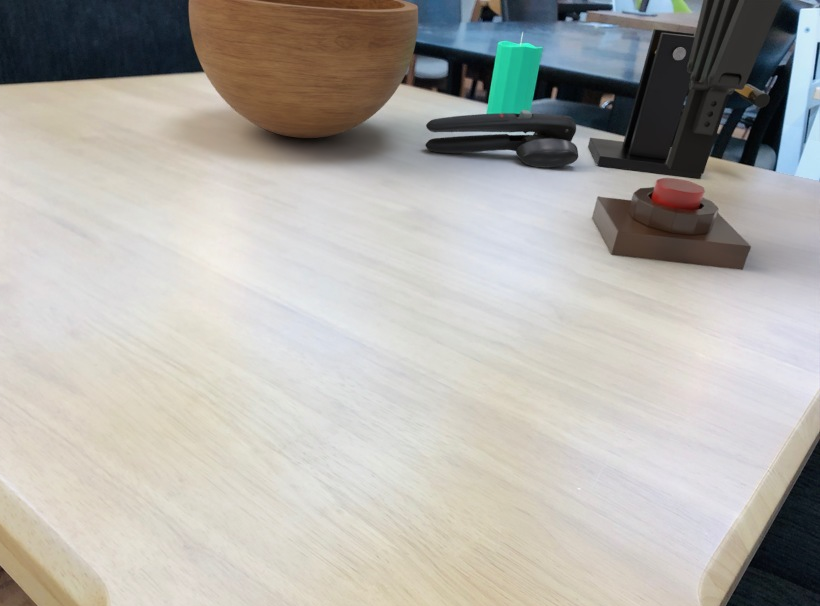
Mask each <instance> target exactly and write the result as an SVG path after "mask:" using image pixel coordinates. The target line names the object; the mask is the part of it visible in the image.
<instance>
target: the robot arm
mask: <svg viewBox="0 0 820 606" xmlns="http://www.w3.org/2000/svg"><path fill="white" fill-rule="evenodd" d="M782 2H783V0H702V2H701V3H702V4H701V8H700V13H699V17H698V21H697V25H696V30H695V34H694V36H695V38H694V42H693V46H692V50H691V55H690V59H689V62H688V65H687V72H688V73H692V74H691V77H690V83H689V88H688V92H687V95H686V99H685V102H684V105H683V109H682V112H681V115H680V118H679V122H678V125H677V128H676V131H675V135H674V138H673V141H672V144H671V147H672V149H671V152H670V155H669V158H668V162H667V166H668V167H669V169H670V170H676V171H684V172H691V173H699V174H702V175H703V174H704V173H705V169H706V167H707V164H708V162H709V157H710V155H711V153H712V150H713V149H712V148H713V146H714V142H715V141H716V137H717V134H718V132H719V128H720V125H721V122H722V119H723V116H724V113H725V110H726V108H727V104H728V101H729V98H730V96H731V95H733V94H734V93H735V89H737V90H742V89H743V88H744V87H745V85H746V84H748V79H749V78H750V75H751V73H752V71H753V68H754V66H755V64H756V61H757V60H758V58H759V55H760V52H761V50H762V48H763V46H764V43H765V41H766V39H767V37H768V34H769V32H770V30H771V27H772V25H773V23H774V20H775V18H776V16H777V14H778V11H779V9H780V7H781V4H782Z"/></svg>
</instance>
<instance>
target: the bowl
mask: <svg viewBox="0 0 820 606" xmlns="http://www.w3.org/2000/svg"><path fill="white" fill-rule="evenodd" d="M188 21H189V29H190V34H191V40H192V44H193V47H194V51H195V53H196V56H197V60H198V61H199V64H200V65H201V68H202V70H203V72H204V74H205V76H206V77H207V79H208V81H209V83H210V84H211V86H212V87H213V88H214V90H215V92H217V93H218V95H219V96H220V97H221V98H222V99H223V101H224V102H225V103H226V104H227V105H228V106H229V107H230V108H232V109H233V110H234V111H235V112H236V113H237V114H239V115H240V116H241V117H243V118H244V119H245V120H247V121H248V122H250V123H252V124H254V125H255V126H257V127H259V128H261V129H264V130H265V131H268V132H271V133H274V134H277V135H281V136H285V137H289V138H298V139H320V138H325V137H331V136H335V135H338V134H342V133H344V132H347V131H350V130H352V129H353V128H356V127H357V126H359V125H361V124H364V122H366V121H368V120H369V119H371V117H373V116H374V115H375V114H377V112H379V111H381V109H382V108H383V107H384V106H385V105H386V104H387V103H388V102H389V101H390V99H391V98H392V97H393V96H394V94H395V93H396V91H398V89H399V87H400V85H401V83H402V82H403V80H404V78H405V76H406V74H407V72H408V70H409V67H410V65H411V62H412V59H413V55H414V53H415V47H416V43H417V38H418V31H419V29H418V28H419V6H418V5H417V4H415V3H412V2H411V1H407V0H188Z"/></svg>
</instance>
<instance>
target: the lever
mask: <svg viewBox="0 0 820 606" xmlns="http://www.w3.org/2000/svg"><path fill="white" fill-rule="evenodd" d="M655 54H656V51H655ZM734 92H736V93H738V95H739V97H741V98H742V99H743V100H745V101H747V102H749V104H751V105H754V106H755V107H756V108H758V109H759V108H765V107H766V106H768V104H769V103H770V101H771V100H770V95H769V94H767V93H766V92H764V91H762V90H760V89H759V88H757V87H756V86H753V85H752V84H751V83H750V84H749V83H746V85H745V87H744V88H743V89H742V90H737V89H735V90H734Z"/></svg>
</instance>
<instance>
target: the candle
mask: <svg viewBox="0 0 820 606" xmlns="http://www.w3.org/2000/svg"><path fill="white" fill-rule="evenodd" d="M520 37H521V38H520V42H519V43H515V42H513V41H509V40H502V41H501V40H500V41H499V42H497V46H496V53H495V59H494V64H493V71H492V77H491V83H490V89H489V95H488V101H487V102H488V103H487V106H486V113H485V114H495V113H516V114H520V113H521V111H522V110H527V111H530V112H532V111H531V110H532V106H533V102H534V96H535V92H536V91H535V90H536V87H537V80H538V74H539V70H540V65H541V60H542V56H543V55H542V54H543V50H544V46H536V45H533V44H531V43H529V42H523V37H524V31H522V32H521V36H520ZM522 42H523V43H522Z"/></svg>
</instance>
